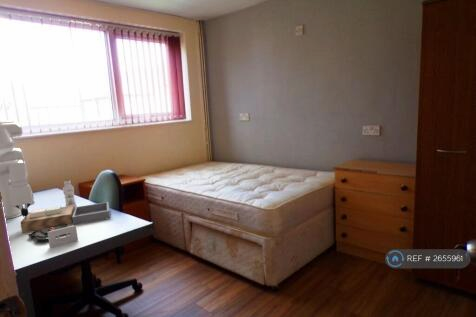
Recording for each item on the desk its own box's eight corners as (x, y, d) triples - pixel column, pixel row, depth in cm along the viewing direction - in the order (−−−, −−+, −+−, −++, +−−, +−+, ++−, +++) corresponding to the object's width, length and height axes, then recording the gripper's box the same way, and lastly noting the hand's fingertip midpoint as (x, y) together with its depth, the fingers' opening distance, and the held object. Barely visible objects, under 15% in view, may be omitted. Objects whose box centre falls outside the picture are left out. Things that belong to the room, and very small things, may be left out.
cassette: (77, 239, 157) (75, 224, 156) (78, 241, 156) (76, 225, 155) (49, 247, 151) (46, 231, 149) (50, 248, 149) (47, 232, 148)
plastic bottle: (66, 213, 204) (61, 182, 201) (66, 210, 210) (61, 180, 207) (77, 211, 207) (72, 180, 204) (77, 208, 213) (72, 178, 210)
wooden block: (22, 233, 172) (20, 222, 172) (30, 222, 191) (28, 212, 190) (72, 224, 181) (70, 214, 180) (75, 214, 200) (74, 205, 199)
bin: (73, 224, 180) (72, 217, 180) (76, 214, 201) (75, 207, 200) (109, 218, 187) (108, 210, 187) (109, 208, 208) (108, 201, 207)
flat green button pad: (27, 238, 165) (25, 229, 165) (64, 227, 179) (62, 219, 178) (40, 246, 154) (38, 236, 153) (78, 233, 167) (77, 225, 167)
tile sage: (46, 215, 182) (45, 210, 181) (48, 211, 188) (47, 207, 188) (60, 213, 184) (59, 208, 184) (61, 209, 190) (61, 205, 190)
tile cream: (30, 217, 179) (29, 213, 178) (33, 214, 185) (32, 210, 185) (45, 215, 181) (44, 211, 181) (47, 212, 188) (46, 207, 187)
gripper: (1, 187, 172) (7, 220, 175) (33, 183, 177) (39, 215, 180) (5, 184, 179) (11, 216, 182) (36, 180, 184) (41, 211, 187)
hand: (25, 215), depth 181 cm, fingers closed
